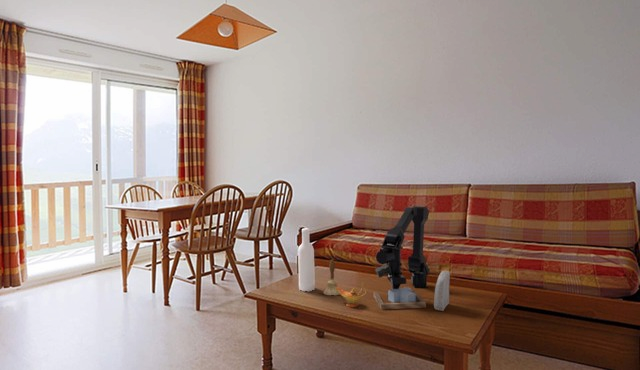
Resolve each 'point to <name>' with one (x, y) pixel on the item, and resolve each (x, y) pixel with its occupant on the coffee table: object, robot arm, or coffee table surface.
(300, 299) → the coffee table surface
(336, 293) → the hand bell
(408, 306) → the bay
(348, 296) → the magic lamp
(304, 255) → the bottle
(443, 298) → the decorative stone
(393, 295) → the grey stepped block
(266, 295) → the coffee table surface
